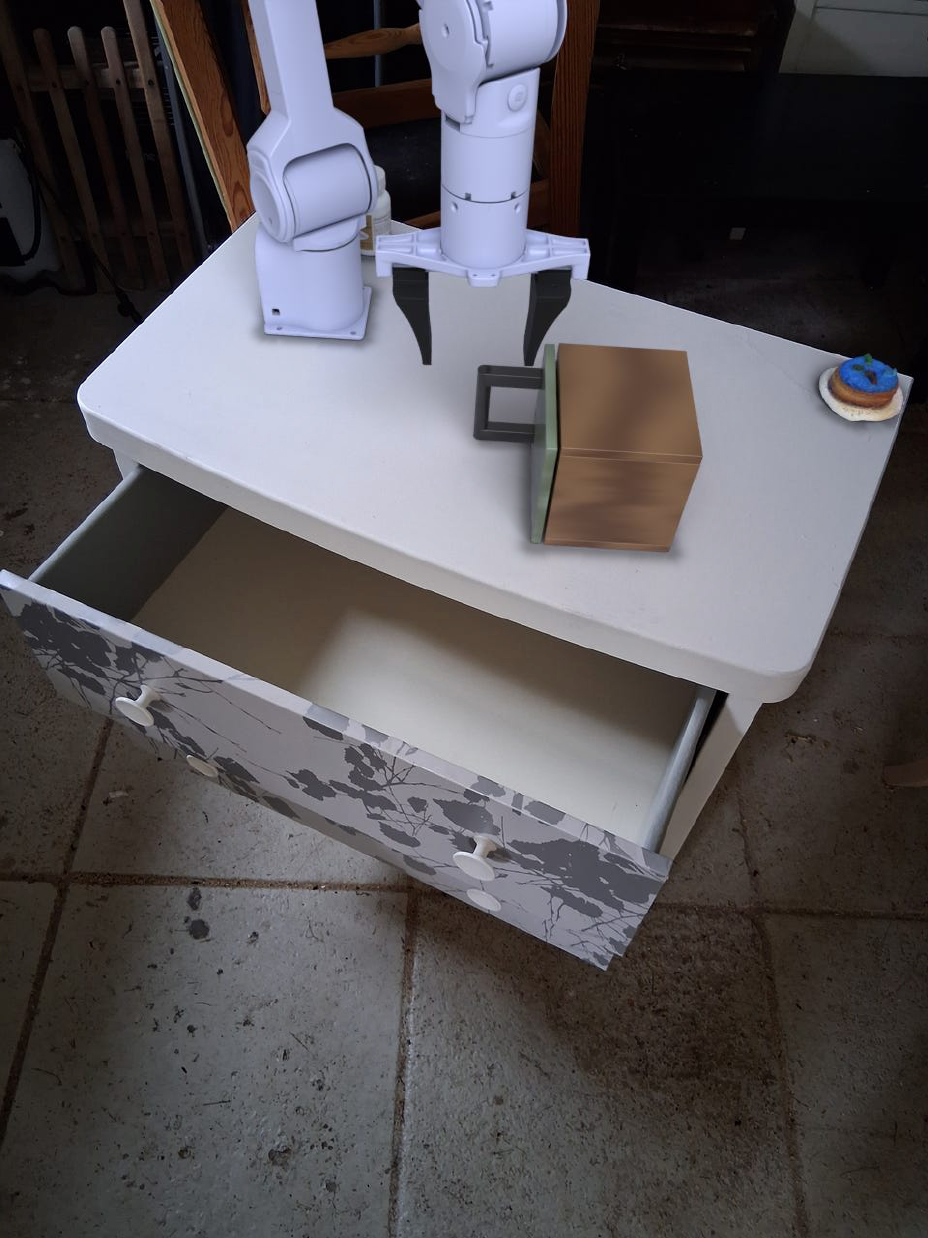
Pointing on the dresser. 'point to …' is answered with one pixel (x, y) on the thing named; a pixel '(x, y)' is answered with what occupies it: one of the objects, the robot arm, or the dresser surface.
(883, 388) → the dessert
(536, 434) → the door
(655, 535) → the cupboard
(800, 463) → the dresser surface
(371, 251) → the pill bottle
